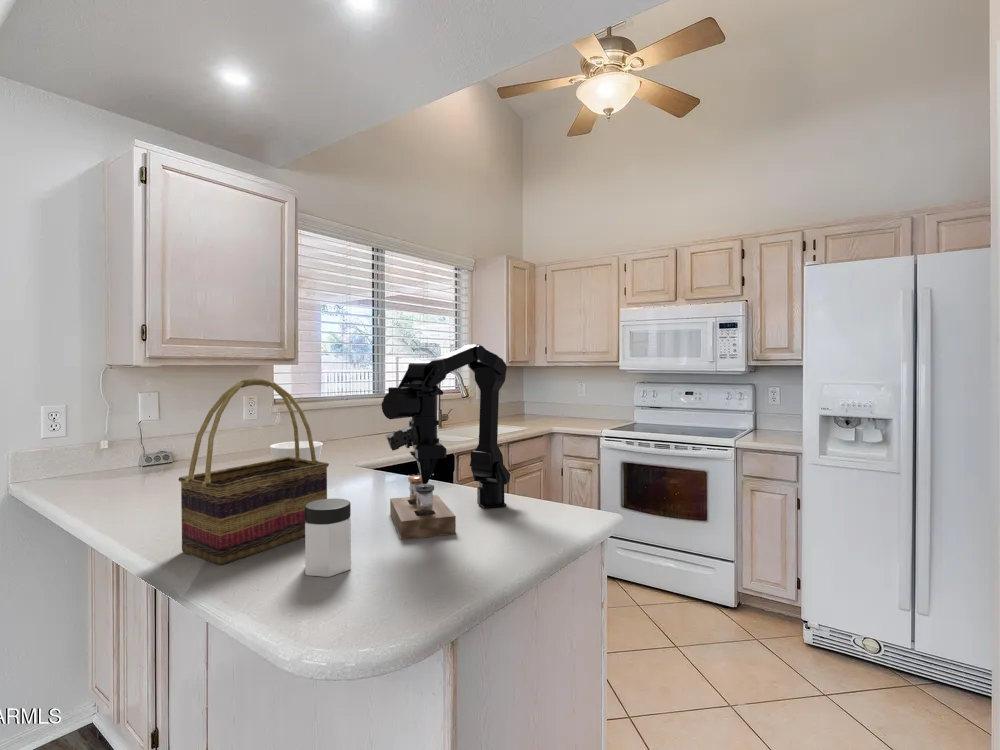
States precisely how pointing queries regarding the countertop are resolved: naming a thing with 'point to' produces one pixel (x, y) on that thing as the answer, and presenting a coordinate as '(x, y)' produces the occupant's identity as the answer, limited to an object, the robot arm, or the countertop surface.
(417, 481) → the copper capped plug
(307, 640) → the countertop surface
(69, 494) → the countertop surface
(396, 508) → the socket block
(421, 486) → the grey plug
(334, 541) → the jar
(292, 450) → the cup
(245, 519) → the basket
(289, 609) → the countertop surface
